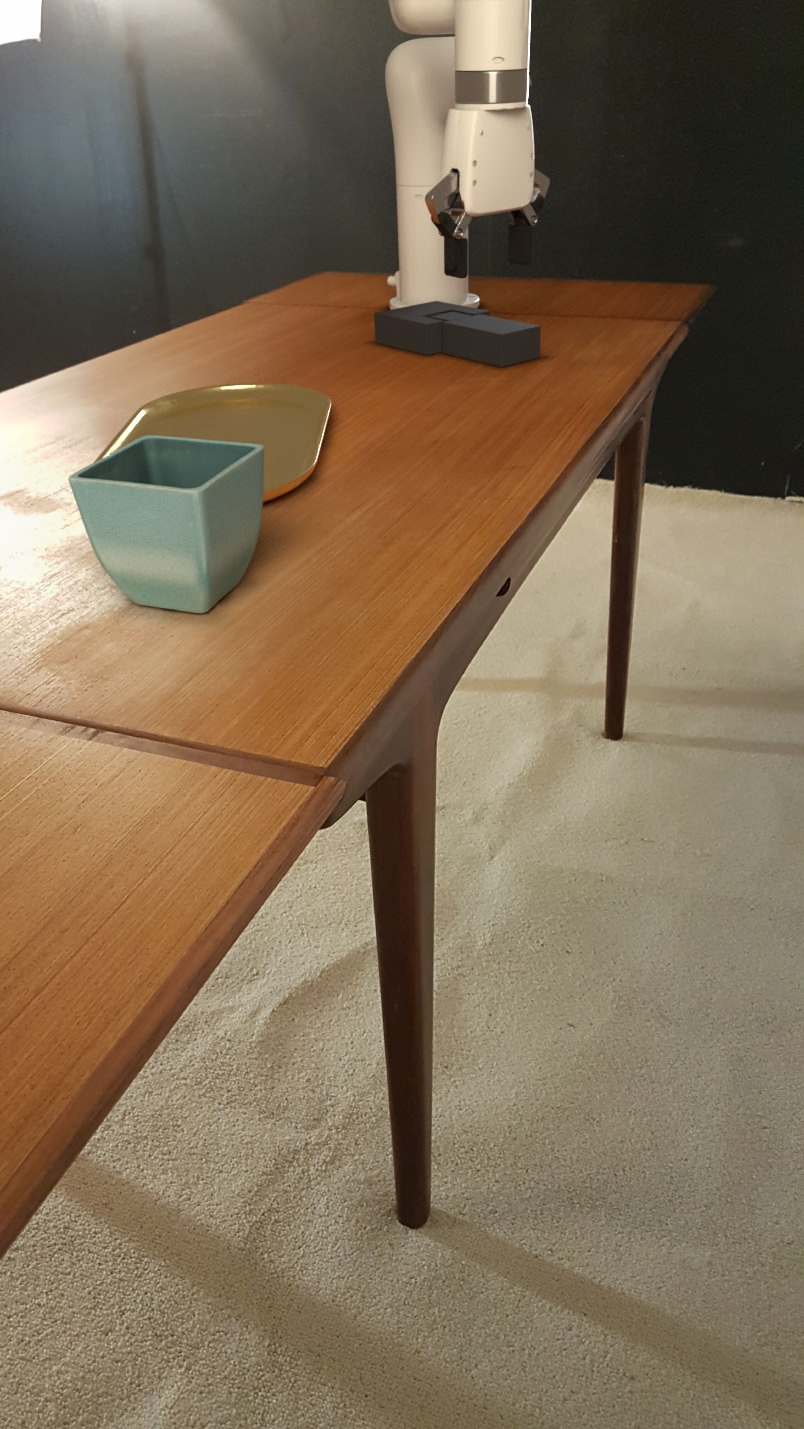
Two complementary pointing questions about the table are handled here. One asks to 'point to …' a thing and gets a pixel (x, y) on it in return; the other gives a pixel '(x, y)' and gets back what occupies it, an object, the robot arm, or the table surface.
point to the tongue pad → (489, 338)
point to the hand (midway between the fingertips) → (488, 269)
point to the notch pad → (417, 326)
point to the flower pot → (174, 517)
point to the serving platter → (242, 425)
